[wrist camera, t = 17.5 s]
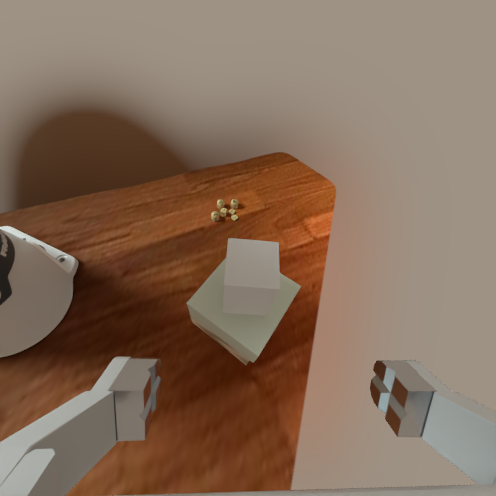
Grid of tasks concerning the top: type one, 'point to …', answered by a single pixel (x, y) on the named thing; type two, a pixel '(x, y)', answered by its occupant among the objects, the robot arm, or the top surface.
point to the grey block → (251, 276)
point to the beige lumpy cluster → (225, 210)
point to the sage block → (239, 325)
